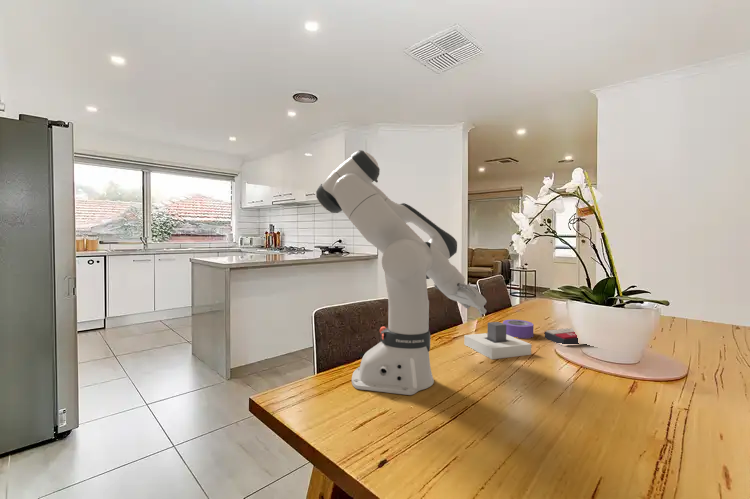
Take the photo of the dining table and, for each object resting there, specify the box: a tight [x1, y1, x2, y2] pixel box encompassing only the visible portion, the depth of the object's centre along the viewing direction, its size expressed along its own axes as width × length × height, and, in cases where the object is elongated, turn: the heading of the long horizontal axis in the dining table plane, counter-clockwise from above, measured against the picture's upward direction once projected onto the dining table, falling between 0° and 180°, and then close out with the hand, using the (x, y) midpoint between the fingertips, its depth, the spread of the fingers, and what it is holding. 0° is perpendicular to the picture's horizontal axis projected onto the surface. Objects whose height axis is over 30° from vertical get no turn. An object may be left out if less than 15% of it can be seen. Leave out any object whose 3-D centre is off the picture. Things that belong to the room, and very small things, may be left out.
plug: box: [487, 321, 507, 343], centre depth 123 cm, size 4×4×8 cm
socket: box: [463, 332, 532, 360], centre depth 123 cm, size 16×16×4 cm
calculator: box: [544, 327, 579, 344], centre depth 134 cm, size 11×4×15 cm
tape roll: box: [502, 319, 534, 339], centre depth 143 cm, size 12×12×5 cm
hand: (476, 309), depth 119 cm, fingers open, 8 cm apart
